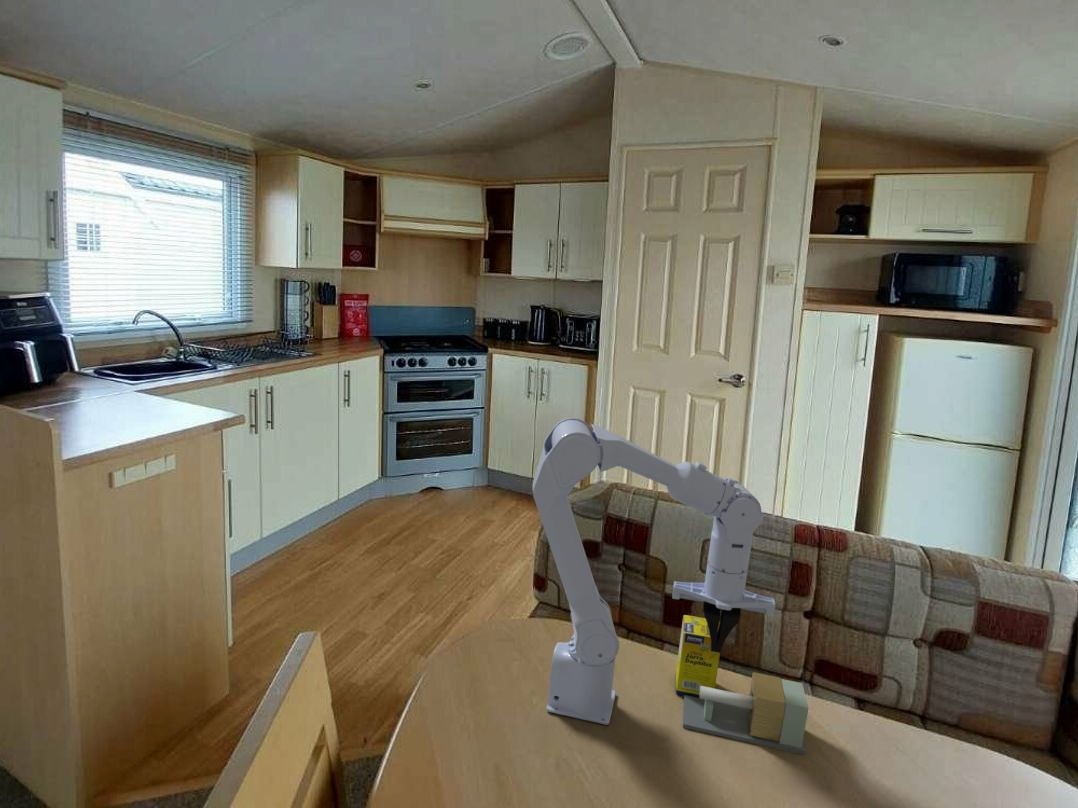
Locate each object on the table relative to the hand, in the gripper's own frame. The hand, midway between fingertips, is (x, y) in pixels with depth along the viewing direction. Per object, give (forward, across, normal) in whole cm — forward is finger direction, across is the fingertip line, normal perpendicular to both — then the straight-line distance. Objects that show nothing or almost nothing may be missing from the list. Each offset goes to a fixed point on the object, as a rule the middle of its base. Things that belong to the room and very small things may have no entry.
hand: (715, 648), depth 98 cm
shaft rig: (+10, +5, -2) cm, 12 cm away
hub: (+10, +8, -2) cm, 13 cm away
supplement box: (+11, -2, +5) cm, 12 cm away
